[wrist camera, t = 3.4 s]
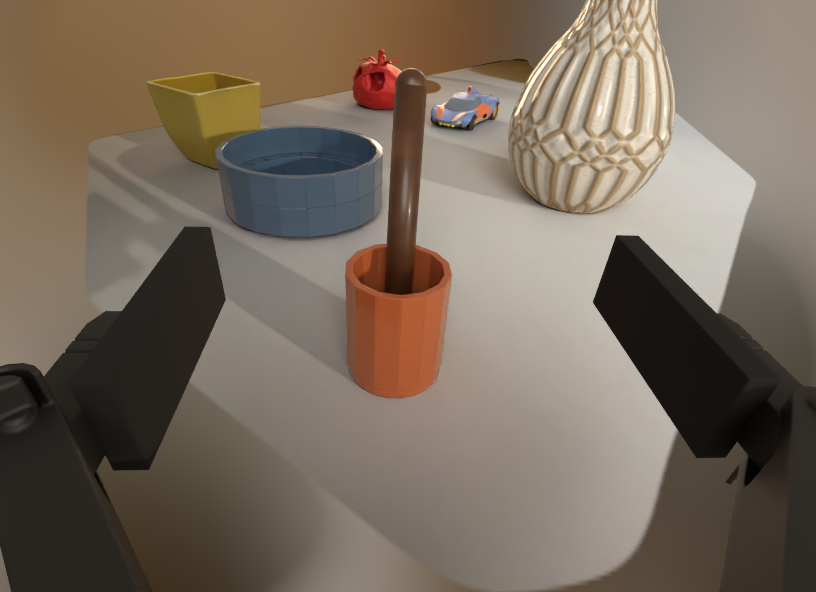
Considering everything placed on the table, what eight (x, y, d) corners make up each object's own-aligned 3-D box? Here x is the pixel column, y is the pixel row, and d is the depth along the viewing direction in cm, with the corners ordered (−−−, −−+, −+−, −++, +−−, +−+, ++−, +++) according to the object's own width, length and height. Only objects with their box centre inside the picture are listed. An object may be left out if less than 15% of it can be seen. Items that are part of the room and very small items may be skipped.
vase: (567, 167, 61) (614, -13, 50) (674, 214, 50) (765, -4, 39) (470, 183, 54) (499, -22, 43) (569, 242, 43) (642, -13, 32)
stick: (381, 363, 27) (396, 64, 22) (380, 351, 29) (394, 68, 23) (408, 364, 27) (430, 67, 22) (405, 351, 29) (426, 71, 23)
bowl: (207, 241, 40) (192, 174, 36) (246, 177, 52) (237, 123, 49) (382, 244, 41) (384, 180, 38) (379, 181, 53) (380, 128, 50)
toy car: (420, 126, 74) (423, 91, 71) (458, 109, 85) (461, 78, 82) (467, 136, 71) (471, 99, 68) (499, 117, 82) (504, 84, 79)
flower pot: (211, 179, 51) (194, 93, 46) (164, 161, 55) (143, 79, 50) (271, 160, 57) (262, 82, 52) (225, 145, 61) (212, 71, 56)
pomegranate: (384, 97, 90) (385, 43, 84) (417, 108, 84) (420, 51, 78) (341, 102, 84) (339, 45, 79) (372, 115, 78) (373, 54, 73)
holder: (346, 399, 26) (343, 298, 22) (350, 334, 31) (347, 241, 27) (444, 398, 26) (458, 299, 22) (433, 334, 31) (443, 243, 27)
